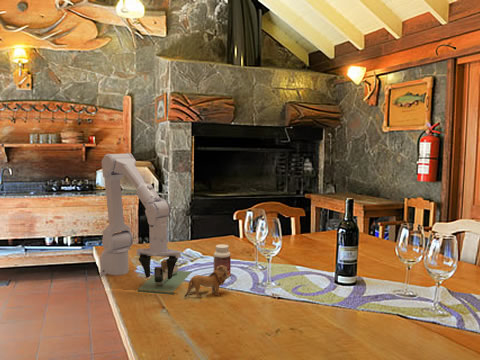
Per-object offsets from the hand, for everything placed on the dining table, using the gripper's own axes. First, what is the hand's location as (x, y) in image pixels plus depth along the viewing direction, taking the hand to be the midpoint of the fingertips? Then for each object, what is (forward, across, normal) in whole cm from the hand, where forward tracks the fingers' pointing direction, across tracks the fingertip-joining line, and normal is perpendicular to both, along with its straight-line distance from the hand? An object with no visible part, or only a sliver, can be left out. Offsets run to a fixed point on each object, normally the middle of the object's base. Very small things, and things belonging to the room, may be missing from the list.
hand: (158, 277), depth 145 cm
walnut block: (+3, -3, +15) cm, 16 cm away
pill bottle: (+4, +17, +18) cm, 25 cm away
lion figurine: (+4, +17, -2) cm, 18 cm away
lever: (+3, 0, +8) cm, 8 cm away
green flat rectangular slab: (+4, 0, +6) cm, 7 cm away
